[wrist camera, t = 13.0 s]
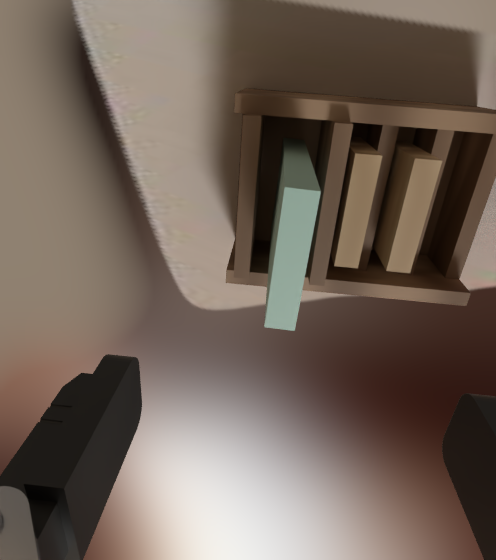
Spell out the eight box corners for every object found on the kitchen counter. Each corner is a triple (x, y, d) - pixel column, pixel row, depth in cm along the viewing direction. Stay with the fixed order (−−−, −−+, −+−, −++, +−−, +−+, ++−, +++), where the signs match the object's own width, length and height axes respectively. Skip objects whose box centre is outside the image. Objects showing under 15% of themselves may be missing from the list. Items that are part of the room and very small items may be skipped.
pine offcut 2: (407, 141, 28) (442, 160, 22) (384, 233, 32) (409, 273, 25) (386, 139, 28) (415, 158, 22) (365, 232, 32) (386, 271, 26)
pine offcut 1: (360, 137, 29) (382, 155, 22) (343, 229, 32) (357, 268, 26) (339, 135, 29) (355, 153, 22) (324, 228, 32) (334, 266, 26)
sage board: (304, 139, 29) (320, 191, 16) (289, 230, 32) (294, 330, 20) (283, 137, 29) (284, 187, 17) (271, 228, 32) (264, 326, 20)
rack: (477, 106, 28) (547, 119, 21) (430, 260, 34) (472, 313, 26) (245, 88, 29) (233, 94, 21) (236, 242, 35) (224, 289, 27)
